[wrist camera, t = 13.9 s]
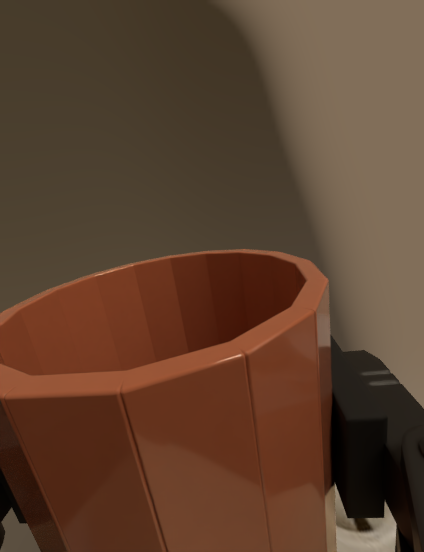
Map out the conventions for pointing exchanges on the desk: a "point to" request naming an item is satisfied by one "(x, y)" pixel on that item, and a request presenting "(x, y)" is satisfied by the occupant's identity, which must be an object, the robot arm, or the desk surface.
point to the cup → (173, 407)
